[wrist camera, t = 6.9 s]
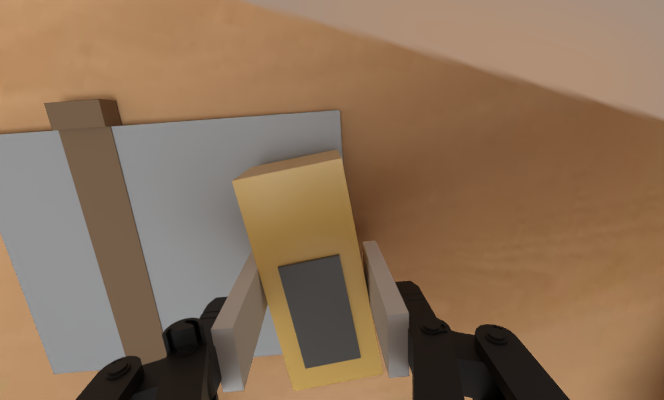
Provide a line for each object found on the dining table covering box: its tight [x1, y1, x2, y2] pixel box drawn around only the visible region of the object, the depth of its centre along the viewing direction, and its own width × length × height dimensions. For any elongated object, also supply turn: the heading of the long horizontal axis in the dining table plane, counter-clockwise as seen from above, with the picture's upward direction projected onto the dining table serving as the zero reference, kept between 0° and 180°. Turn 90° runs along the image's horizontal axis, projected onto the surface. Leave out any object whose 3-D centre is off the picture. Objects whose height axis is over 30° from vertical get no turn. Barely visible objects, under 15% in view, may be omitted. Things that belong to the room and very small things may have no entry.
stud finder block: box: [232, 149, 383, 391], centre depth 17 cm, size 5×12×4 cm, turn 11°
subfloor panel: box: [0, 99, 343, 374], centre depth 20 cm, size 22×20×2 cm
